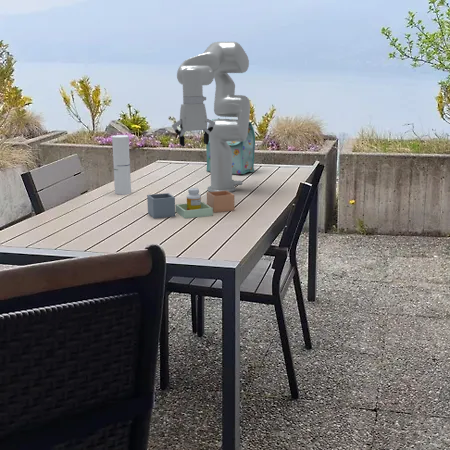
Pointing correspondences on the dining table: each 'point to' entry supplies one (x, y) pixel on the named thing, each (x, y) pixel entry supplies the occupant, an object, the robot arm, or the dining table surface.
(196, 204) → the supplement bottle
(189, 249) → the dining table surface
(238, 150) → the lunch bag
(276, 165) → the dining table surface
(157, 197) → the grey square bin
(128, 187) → the cylindrical container
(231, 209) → the terracotta square bin
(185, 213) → the green tray
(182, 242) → the dining table surface
